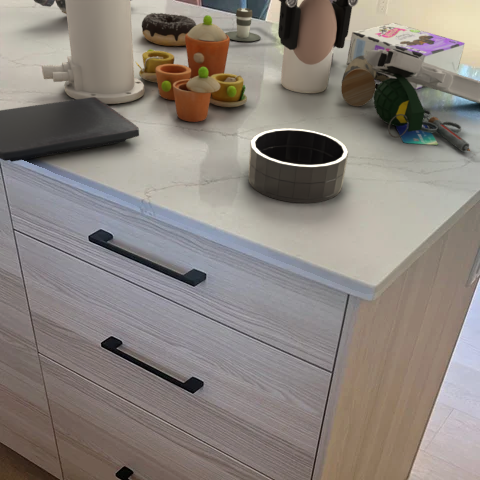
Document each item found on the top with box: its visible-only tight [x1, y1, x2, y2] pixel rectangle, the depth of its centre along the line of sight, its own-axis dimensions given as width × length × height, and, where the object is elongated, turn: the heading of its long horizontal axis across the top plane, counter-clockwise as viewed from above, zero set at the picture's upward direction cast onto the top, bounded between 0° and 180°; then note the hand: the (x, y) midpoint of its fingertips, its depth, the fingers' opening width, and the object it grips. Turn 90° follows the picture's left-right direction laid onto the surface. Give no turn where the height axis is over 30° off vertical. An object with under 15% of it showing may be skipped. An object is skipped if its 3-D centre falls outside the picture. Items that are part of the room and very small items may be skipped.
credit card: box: [395, 123, 439, 146], centre depth 97 cm, size 8×5×1 cm, turn 0°
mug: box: [340, 56, 390, 107], centre depth 107 cm, size 8×6×12 cm
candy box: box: [346, 22, 466, 90], centre depth 119 cm, size 14×6×16 cm
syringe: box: [421, 108, 476, 156], centre depth 97 cm, size 8×18×2 cm, turn 18°
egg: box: [293, 0, 337, 65], centre depth 70 cm, size 5×5×7 cm
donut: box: [141, 12, 197, 47], centre depth 125 cm, size 11×12×4 cm
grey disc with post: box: [224, 7, 262, 43], centre depth 130 cm, size 12×12×5 cm
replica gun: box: [364, 49, 480, 104], centre depth 103 cm, size 29×16×3 cm, turn 97°
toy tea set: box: [135, 14, 248, 123], centre depth 100 cm, size 26×16×10 cm, turn 20°
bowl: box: [247, 128, 349, 204], centre depth 80 cm, size 12×12×4 cm
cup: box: [280, 45, 335, 94], centre depth 108 cm, size 8×12×10 cm
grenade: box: [373, 74, 426, 139], centre depth 97 cm, size 6×7×12 cm
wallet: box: [0, 97, 140, 163], centre depth 87 cm, size 20×2×15 cm
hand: (312, 43), depth 71 cm, fingers closed on egg, 5 cm apart
